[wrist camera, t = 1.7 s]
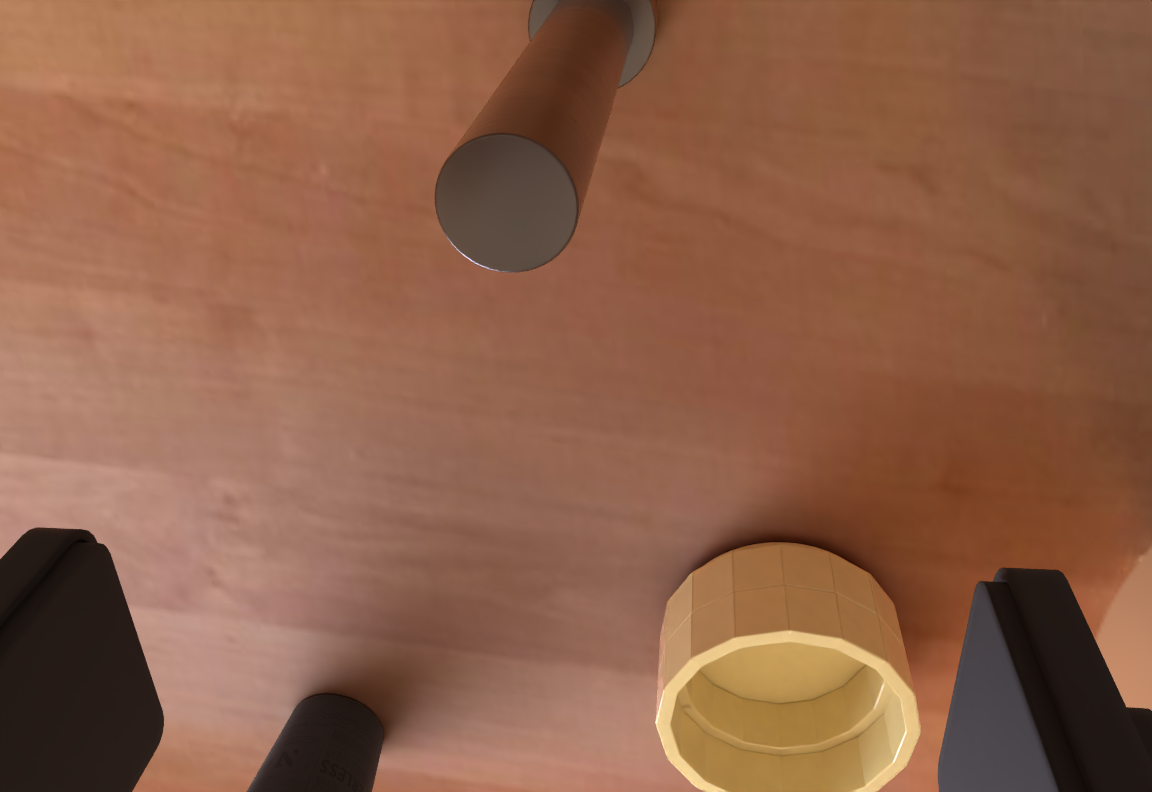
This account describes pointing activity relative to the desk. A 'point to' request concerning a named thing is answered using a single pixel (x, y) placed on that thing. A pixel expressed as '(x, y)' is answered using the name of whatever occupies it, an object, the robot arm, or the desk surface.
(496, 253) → the stirrer
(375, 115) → the desk surface
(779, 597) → the bowl
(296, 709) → the drinking cup
